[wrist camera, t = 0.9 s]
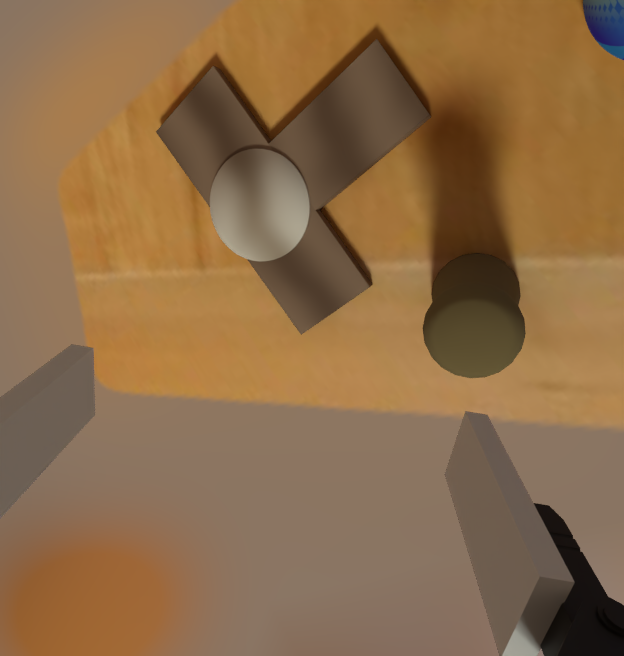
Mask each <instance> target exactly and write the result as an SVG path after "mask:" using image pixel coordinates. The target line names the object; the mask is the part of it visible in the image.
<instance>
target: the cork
mask: <svg viewBox="0 0 624 656" xmlns="http://www.w3.org/2000/svg"><path fill="white" fill-rule="evenodd" d="M519 300H520V287H519V282H518V280H517V278H516V276H515V273H514V271H513V270H512V269H511V268H510V267H509V266H508V265H507V264H506V263H505V262H504V261H502V260H500V259H498V258H496V257H494V256H492V255H486V254H479V253H475V254H468V255H462V256H460V257H458V258H456V259H454V260H452V261H450V262H449V263H448V264H447V265H446V266H445V267H444V268H442V269H441V270H440V272H439V274H438V276H437V277H436V279H435V281H434V284H433V289H432V301H433V302H432V304H431V306H430V307H429V309H428V311H427V313H426V315H425V320H424V325H423V334H424V341H425V344H426V346H427V348H428V350H429V352H430V354H431V356H432V358H433V359H434V360H435V361H436V362H437V363H438V364H439V365H440V366H441V367H442V368H444V369H445V370H447V371H449V372H451V373H453V374H455V375H458V376H463V377H467V378H480V377H487V376H490V375H493V374H496V373H498V372H500V371H502V370H503V369H504V368H506V367H507V366H508V365H510V364H511V363H512V362H513V360H514V359H515V357H516V356H517V355H518V353H519V352H520V350H521V349H522V345H523V342H524V338H525V323H524V317H523V315H522V313H521V311H520V309H519V307H518V304H519Z"/></svg>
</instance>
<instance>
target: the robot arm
mask: <svg viewBox="0 0 624 656" xmlns="http://www.w3.org/2000/svg"><path fill="white" fill-rule="evenodd" d="M94 415H95V394H94V352H93V348H90V347H85V346H79V345H73V344H71V345H70V346H69V347H68V348H66V349H65V350H63V351H62V352H61V353H59V354H58V355H57V356H55V357H54V358H53V359H51V360H50V361H49V362H47V363H46V364H45V365H43V366H42V367H41V368H39V369H38V370H37V371H35V372H34V373H32V374H31V375H30V376H28V377H27V378H26V379H24V380H23V381H22V382H20V383H19V384H18V385H16V386H15V387H14V388H12V389H11V390H10V391H8V392H7V393H6V394H4V395H3V396H1V397H0V518H1V517H2V516H3V515H4V514H5V513H6V512H7V511H8V510H9V509H10V507H11V506H12V505H13V504H14V503H15V502H16V501H17V500H18V499H19V497H20V496H21V495H22V494H23V493H24V492H25V491H26V490H27V489H28V488H29V487H30V486H31V484H32V483H33V482H34V481H35V480H36V479H37V478H38V477H39V476H40V475H41V473H42V472H43V471H44V470H45V469H46V468H47V467H48V466H49V465H50V463H51V462H52V461H53V460H54V459H55V458H56V457H57V456H58V455H59V453H61V451H62V450H63V449H64V448H65V447H66V446H67V445H68V444H69V443H70V442H71V441H72V439H73V438H74V437H75V436H76V435H77V434H78V433H79V432H80V431H81V429H83V427H84V426H85V425H86V424H87V423H88V422H89V421H90V420H91V419H92V418H93V417H94ZM445 477H446V480H447V484H448V487H449V490H450V493H451V497H452V500H453V503H454V507H455V510H456V513H457V517H458V520H459V523H460V526H461V530H462V533H463V537H464V540H465V543H466V546H467V550H468V553H469V556H470V559H471V563H472V566H473V569H474V573H475V576H476V579H477V583H478V586H479V590H480V593H481V596H482V599H483V603H484V606H485V609H486V613H487V616H488V619H489V623H490V625H491V629H492V632H493V636H494V639H495V642H496V646H497V649H498V653H499V656H537V654H538V652H539V651H540V649H542V651H543V654H544V656H624V605H622V604H621V603H619V602H617V601H615V600H613V599H611V598H609V597H608V596H607V594H606V592H605V591H604V589H603V587H602V585H601V584H600V582H599V580H598V578H597V577H596V575H595V574H594V572H593V570H592V568H591V566H590V565H589V563H588V561H587V559H586V558H585V556H584V554H583V553H582V552H580V547H579V546H578V544H577V542H576V540H575V539H573V535H572V534H571V532H570V530H569V529H568V527H567V525H566V523H565V522H564V520H563V519H562V518H561V517H560V516H559V515H558V514H557V513H556V512H555V511H554V510H553V509H552V508H551V507H550V506H548V505H542V504H535V503H533V501H532V500H531V498H530V496H529V494H528V492H527V490H526V488H525V486H524V484H523V482H522V480H521V479H520V477H519V475H518V473H517V471H516V469H515V467H514V465H513V463H512V462H511V459H510V458H509V456H508V454H507V452H506V450H505V448H504V446H503V444H502V442H501V441H500V438H499V437H498V435H497V433H496V431H495V429H494V427H493V425H492V423H491V421H490V419H489V417H488V415H485V414H479V413H473V412H467V411H465V414H464V417H463V420H462V423H461V426H460V429H459V433H458V435H457V438H456V442H455V445H454V448H453V451H452V454H451V457H450V460H449V463H448V466H447V469H446V472H445Z"/></svg>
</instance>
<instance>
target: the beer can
mask: <svg viewBox="0 0 624 656" xmlns="http://www.w3.org/2000/svg"><path fill="white" fill-rule="evenodd" d="M583 9H584V15H585V19H586V22H587V25H588V28H589V30H590V32H591V34H592V35H593V37H594V38H595V40H596V41H597V42H598V43H599V45H600V46H601V47H602V48H604V49H605V50H606V51H607V52H609V53H610V54H612V55H613V56H615V57H617V58H619V59H622V60H624V0H583Z"/></svg>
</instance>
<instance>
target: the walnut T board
mask: <svg viewBox="0 0 624 656" xmlns="http://www.w3.org/2000/svg"><path fill="white" fill-rule="evenodd" d="M429 118H431V116H430V115H429V113H428V112H427V110H426V109H425V107H424V106H423V105H422V103H421V102H420V100H419V99H418V97H417V96H416V95H415V93H414V92H413V90H412V89H411V87H410V86H409V84H408V83H407V82H406V80H405V79H404V77H403V76H402V74H401V73H400V72H399V70H398V69H397V67H396V66H395V64H394V63H393V61H392V60H391V59H390V57H389V56H388V54H387V53H386V51H385V50H384V49H383V47H382V46H381V44H380V43H379V41H378V40H377V39H376V40H375V41H374V42H373V43H372V44H371V45H370V46H369V47H368V48H367V49H366V50H365V51H364V52H363V53H362V54H361V55H360V56H358V57H357V58H356V59H355V60H354V61H353V62H352V63H351V64H350V65H349V66H348V67H347V68H346V69H345V70H344V71H343V72H342V73H341V74H340V75H339V76H338V77H337V78H336V79H335V80H334V81H333V82H332V83H331V84H330V85H329V86H328V87H327V88H326V89H325V90H324V91H322V92H321V93H320V94H319V95H318V96H317V97H316V98H315V99H314V100H313V101H312V102H311V103H310V104H309V105H308V106H307V107H306V108H305V109H304V110H303V111H302V112H301V113H300V114H299V115H298V116H297V117H296V118H295V119H294V120H293V121H292V122H291V123H290V124H289V125H288V126H286V127H285V128H284V129H283V130H282V131H281V132H280V133H279V134H278V135H277V136H276V137H275V138H274V139H273V140H272V141H271V140H270V139H269V137H268V136H267V135H266V133H265V132H264V130H263V129H262V128H261V126H260V125H259V123H258V122H257V121H256V119H255V118H254V116H253V115H252V113H251V112H250V111H249V109H248V108H247V106H246V105H245V104H244V102H243V101H242V99H241V98H240V97H239V95H238V94H237V92H236V91H235V89H234V88H233V87H232V85H231V84H230V82H229V81H228V80H227V78H226V77H225V75H224V74H223V72H222V71H221V70H220V69H219V68H217V67H215V66H213V67H212V68H211V69H210V70H209V71H208V72H207V73H206V75H205V76H204V77H203V78H202V79H201V80H200V82H199V83H198V84H197V85H196V86H195V87H194V88H193V90H192V91H191V92H190V93H189V94H188V95H187V97H186V98H185V99H184V100H183V101H182V102H181V103H180V105H179V106H178V107H177V108H176V109H175V110H174V112H173V113H172V114H171V115H170V116H169V117H168V119H167V120H166V121H165V122H164V123H163V124H162V125H161V127H160V128H159V129H158V130H157V131H156V132H157V134H158V135H159V137H160V138H161V139H162V141H163V142H164V144H165V145H166V146H167V148H168V149H169V151H170V152H171V153H172V155H173V156H174V158H175V159H176V160H177V162H178V163H179V165H180V166H181V167H182V169H183V170H184V172H185V173H186V174H187V176H188V177H189V179H190V180H191V181H192V183H193V184H194V186H195V187H196V188H197V190H198V191H199V193H200V194H201V195H202V197H203V198H204V200H205V201H206V202H207V204H208V205H209V207H210V211H211V217H212V221H213V224H214V227H215V229H216V231H217V233H218V235H219V236H220V238H221V239H222V241H223V242H224V243H225V244H226V245H227V246H228V247H229V248H230V249H231V250H232V251H233V252H235V253H236V254H238V255H239V256H241V257H243V258H246V259H247V260H248V261H249V262H250V264H251V265H252V267H253V268H254V269H255V271H256V272H257V274H258V275H259V276H260V278H261V279H262V281H263V282H264V283H265V285H266V286H267V288H268V289H269V290H270V292H271V293H272V295H273V296H274V297H275V299H276V300H277V302H278V303H279V304H280V306H281V307H282V309H283V310H284V311H285V313H286V314H287V315H288V317H289V318H290V320H291V321H292V322H293V324H294V325H295V327H296V328H297V329H298V331H299V332H300V334H303V333H304V332H306V331H307V330H309V329H310V328H312V327H313V326H314V325H316V324H317V323H319V322H320V321H322V320H323V319H324V318H326V317H327V316H329V315H330V314H332V313H333V312H334V311H336V310H337V309H339V308H340V307H342V306H343V305H345V304H346V303H347V302H349V301H350V300H352V299H353V298H355V297H356V296H357V295H359V294H360V293H362V292H363V291H365V290H366V289H368V288H369V287H370V286H371V285H373V284H372V283H371V281H370V280H369V279H368V277H367V276H366V274H365V273H364V272H363V270H362V269H361V267H360V266H359V265H358V263H357V262H356V260H355V259H354V257H353V256H352V255H351V253H350V252H349V250H348V249H347V248H346V246H345V245H344V243H343V242H342V241H341V239H340V238H339V236H338V235H337V233H336V232H335V231H334V229H333V228H332V226H331V225H330V224H329V222H328V221H327V219H326V218H325V217H324V215H323V214H322V212H321V211H320V209H321V208H323V207H324V206H325V205H326V204H327V203H329V202H330V201H331V200H332V199H333V198H335V197H336V196H337V195H338V194H339V193H341V192H342V191H343V190H344V189H345V188H347V187H348V186H349V185H350V184H351V183H353V182H354V181H355V180H356V179H357V178H359V177H360V176H361V175H362V174H363V173H365V172H366V171H367V170H368V169H369V168H371V167H372V166H373V165H374V164H375V163H377V162H378V161H379V160H380V159H381V158H383V157H384V156H385V155H386V154H387V153H389V152H390V151H391V150H392V149H393V148H395V147H396V146H397V145H398V144H399V143H401V142H402V141H403V140H404V139H405V138H407V137H408V136H409V135H410V134H411V133H413V132H414V131H415V130H416V129H417V128H419V127H420V126H421V125H422V124H423V123H425V122H426V121H427V120H428V119H429Z"/></svg>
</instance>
